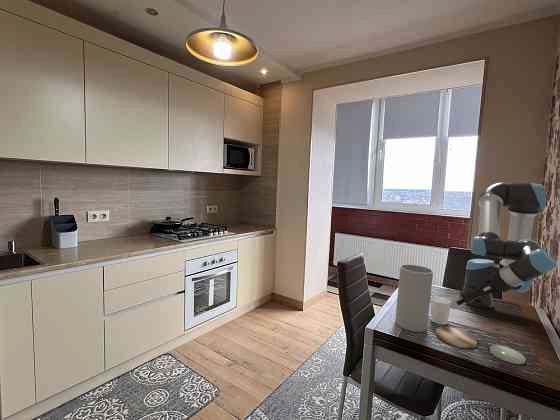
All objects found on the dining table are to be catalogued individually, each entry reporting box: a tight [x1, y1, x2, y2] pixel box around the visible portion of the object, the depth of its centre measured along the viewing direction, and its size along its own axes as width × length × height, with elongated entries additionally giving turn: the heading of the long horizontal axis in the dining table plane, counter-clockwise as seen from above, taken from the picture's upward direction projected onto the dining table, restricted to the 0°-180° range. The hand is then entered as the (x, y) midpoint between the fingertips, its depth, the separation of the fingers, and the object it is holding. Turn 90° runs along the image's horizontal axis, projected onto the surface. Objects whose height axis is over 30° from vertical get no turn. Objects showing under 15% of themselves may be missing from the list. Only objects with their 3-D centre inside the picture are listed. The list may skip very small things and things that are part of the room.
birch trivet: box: [435, 326, 478, 349], centre depth 113 cm, size 14×14×1 cm
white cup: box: [429, 295, 452, 326], centre depth 127 cm, size 8×8×10 cm
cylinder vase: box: [394, 263, 434, 333], centre depth 121 cm, size 12×12×25 cm
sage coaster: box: [489, 344, 526, 365], centre depth 103 cm, size 10×10×1 cm
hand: (458, 303), depth 120 cm, fingers open, 13 cm apart
